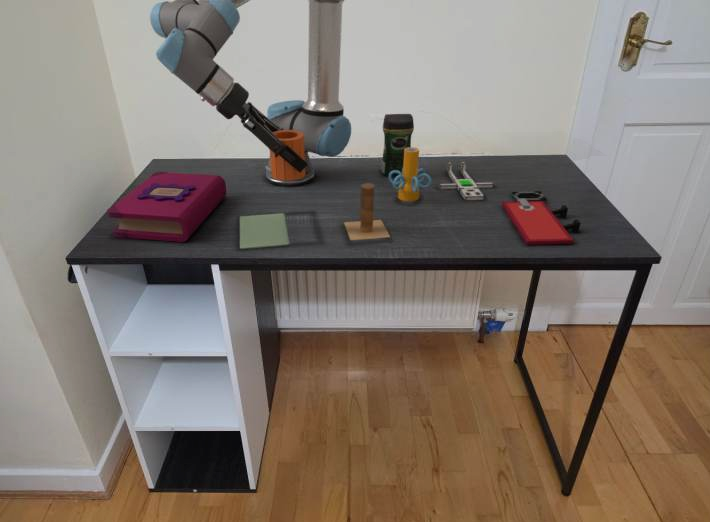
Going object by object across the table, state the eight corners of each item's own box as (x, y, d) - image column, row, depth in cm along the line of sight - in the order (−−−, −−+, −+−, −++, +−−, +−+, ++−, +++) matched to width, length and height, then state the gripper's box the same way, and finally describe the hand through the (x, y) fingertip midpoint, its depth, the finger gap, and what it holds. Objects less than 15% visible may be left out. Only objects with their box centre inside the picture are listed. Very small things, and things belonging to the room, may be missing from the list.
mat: (239, 217, 141) (239, 216, 141) (312, 212, 144) (312, 210, 144) (240, 249, 127) (239, 248, 126) (321, 242, 129) (321, 241, 129)
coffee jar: (409, 168, 172) (413, 110, 161) (412, 176, 165) (417, 117, 155) (379, 168, 171) (381, 111, 161) (382, 177, 165) (384, 118, 155)
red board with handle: (546, 194, 152) (494, 195, 152) (548, 185, 150) (496, 186, 151) (587, 244, 127) (526, 246, 127) (590, 234, 126) (528, 236, 126)
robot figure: (430, 173, 168) (446, 200, 149) (431, 163, 166) (447, 190, 148) (480, 171, 168) (502, 199, 150) (482, 161, 167) (504, 188, 148)
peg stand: (343, 226, 136) (343, 179, 129) (381, 223, 138) (383, 176, 131) (350, 244, 128) (350, 195, 121) (390, 241, 129) (392, 192, 122)
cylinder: (432, 196, 152) (437, 145, 144) (425, 210, 144) (430, 158, 136) (391, 191, 156) (394, 141, 147) (382, 205, 147) (385, 153, 139)
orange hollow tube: (270, 169, 128) (267, 130, 122) (303, 167, 129) (301, 129, 124) (272, 181, 121) (269, 141, 116) (306, 179, 122) (305, 139, 117)
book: (227, 198, 152) (224, 173, 148) (189, 243, 129) (183, 215, 125) (160, 193, 156) (155, 169, 151) (111, 237, 132) (103, 209, 128)
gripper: (215, 96, 123) (287, 158, 133) (212, 120, 105) (295, 189, 116) (235, 71, 120) (307, 136, 131) (235, 92, 103) (318, 165, 114)
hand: (301, 161), depth 124 cm, fingers closed on orange hollow tube, 8 cm apart
